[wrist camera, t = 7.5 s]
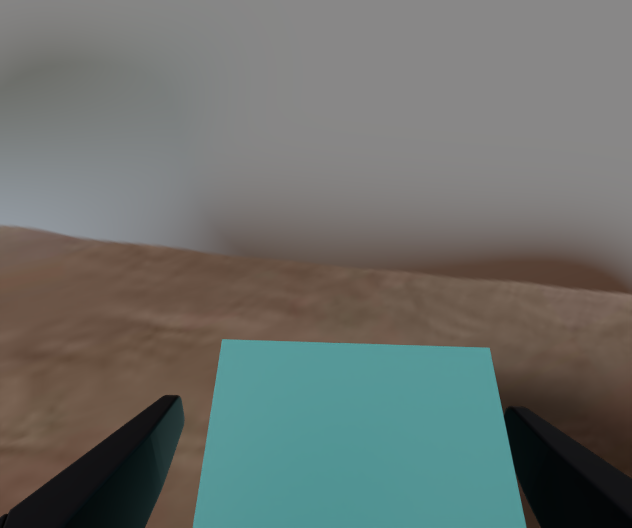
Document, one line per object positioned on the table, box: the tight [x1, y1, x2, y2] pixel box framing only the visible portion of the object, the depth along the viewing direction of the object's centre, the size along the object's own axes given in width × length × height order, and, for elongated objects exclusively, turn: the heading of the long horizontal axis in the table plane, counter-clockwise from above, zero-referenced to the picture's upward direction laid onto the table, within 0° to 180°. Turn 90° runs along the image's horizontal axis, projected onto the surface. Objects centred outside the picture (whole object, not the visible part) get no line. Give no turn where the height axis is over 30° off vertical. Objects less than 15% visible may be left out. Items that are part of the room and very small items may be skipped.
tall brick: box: [193, 339, 526, 528], centre depth 10 cm, size 6×6×10 cm
